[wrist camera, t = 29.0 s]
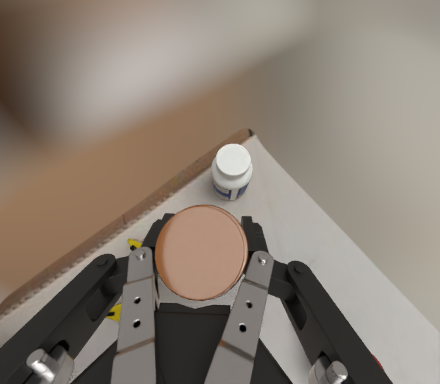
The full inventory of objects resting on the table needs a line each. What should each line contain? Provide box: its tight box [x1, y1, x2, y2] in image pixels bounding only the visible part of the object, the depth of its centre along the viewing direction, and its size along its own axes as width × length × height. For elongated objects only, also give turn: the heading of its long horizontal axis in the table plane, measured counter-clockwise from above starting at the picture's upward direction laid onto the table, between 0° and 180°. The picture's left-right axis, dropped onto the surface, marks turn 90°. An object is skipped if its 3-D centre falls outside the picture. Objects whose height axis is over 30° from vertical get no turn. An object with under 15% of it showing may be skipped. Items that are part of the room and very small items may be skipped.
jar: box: [155, 205, 248, 301], centre depth 13 cm, size 5×5×10 cm
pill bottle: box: [211, 144, 253, 201], centre depth 25 cm, size 5×5×10 cm
